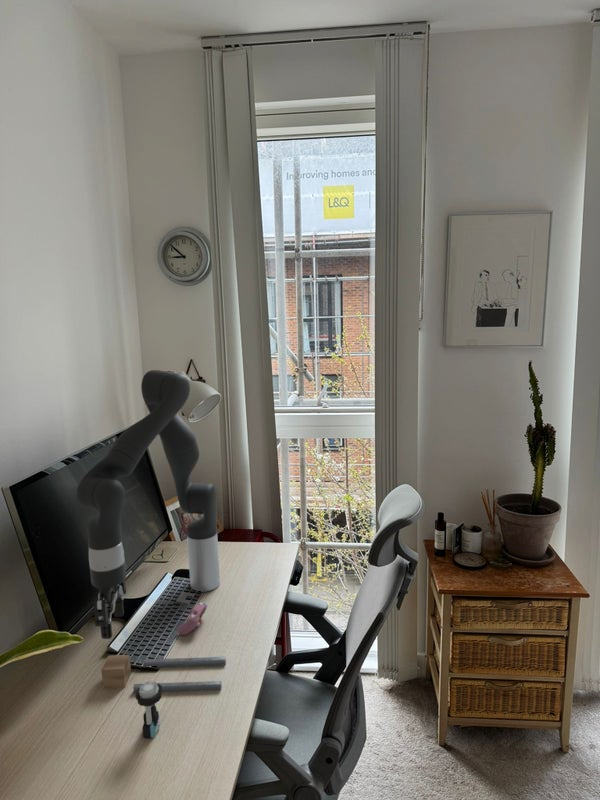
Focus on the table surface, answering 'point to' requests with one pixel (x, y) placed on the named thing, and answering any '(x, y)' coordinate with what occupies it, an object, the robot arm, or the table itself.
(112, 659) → the walnut block
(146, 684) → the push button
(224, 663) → the rail channel
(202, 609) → the pink irregular rounded piece
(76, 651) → the table surface
